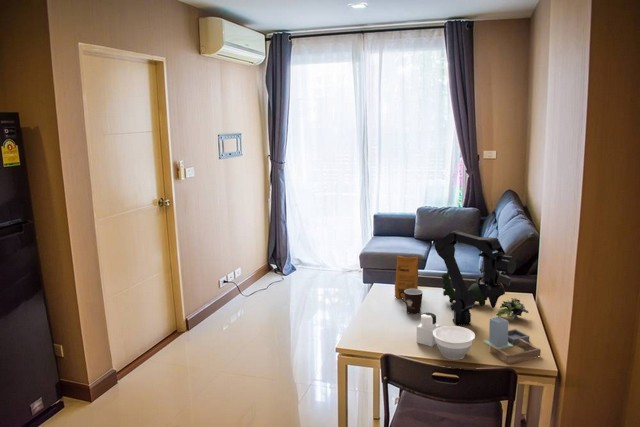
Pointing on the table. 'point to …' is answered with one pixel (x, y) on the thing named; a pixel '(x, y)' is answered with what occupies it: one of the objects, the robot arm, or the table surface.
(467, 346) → the bowl
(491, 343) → the pad
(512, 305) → the green leafy cluster
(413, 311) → the coffee mug
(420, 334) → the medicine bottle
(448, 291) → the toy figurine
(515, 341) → the trap tray
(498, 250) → the robot arm
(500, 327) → the block
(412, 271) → the coffee package
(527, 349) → the brown wooden tray
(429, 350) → the table surface
